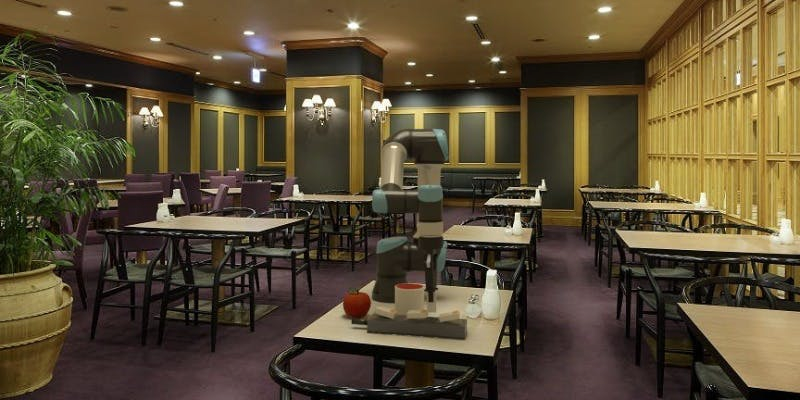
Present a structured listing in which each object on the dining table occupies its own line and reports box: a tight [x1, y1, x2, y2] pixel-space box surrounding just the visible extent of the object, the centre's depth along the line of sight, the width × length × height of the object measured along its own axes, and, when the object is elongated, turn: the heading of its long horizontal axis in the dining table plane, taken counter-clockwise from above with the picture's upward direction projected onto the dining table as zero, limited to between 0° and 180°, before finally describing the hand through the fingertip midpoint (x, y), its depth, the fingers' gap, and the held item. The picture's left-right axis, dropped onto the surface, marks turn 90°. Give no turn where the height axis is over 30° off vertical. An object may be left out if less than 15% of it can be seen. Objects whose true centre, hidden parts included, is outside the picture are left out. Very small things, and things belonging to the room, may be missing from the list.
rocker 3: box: [438, 310, 461, 322], centre depth 179 cm, size 4×6×2 cm, turn 79°
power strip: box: [351, 312, 468, 341], centre depth 182 cm, size 8×36×4 cm, turn 79°
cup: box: [394, 282, 425, 315], centre depth 201 cm, size 10×10×10 cm
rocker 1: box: [374, 305, 397, 319], centre depth 183 cm, size 4×6×2 cm, turn 79°
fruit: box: [342, 287, 372, 319], centre depth 198 cm, size 10×10×10 cm
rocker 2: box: [407, 309, 429, 319], centre depth 181 cm, size 4×6×2 cm, turn 79°
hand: (431, 311), depth 180 cm, fingers closed
